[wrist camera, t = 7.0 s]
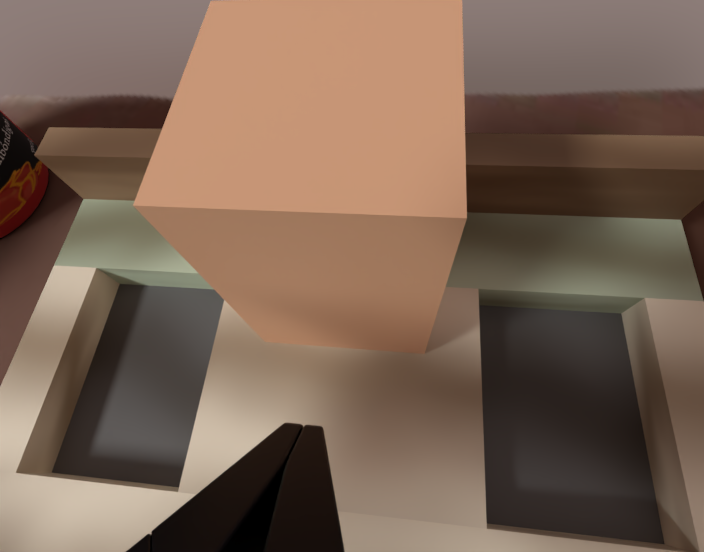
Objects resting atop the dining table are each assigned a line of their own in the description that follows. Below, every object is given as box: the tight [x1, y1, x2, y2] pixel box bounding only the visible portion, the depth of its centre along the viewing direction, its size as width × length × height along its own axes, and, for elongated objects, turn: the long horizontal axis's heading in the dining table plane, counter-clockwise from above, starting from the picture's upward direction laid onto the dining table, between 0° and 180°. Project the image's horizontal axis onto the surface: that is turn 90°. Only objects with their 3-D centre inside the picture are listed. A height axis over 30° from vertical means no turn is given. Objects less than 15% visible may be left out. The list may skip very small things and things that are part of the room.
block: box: [133, 0, 467, 354], centre depth 13 cm, size 6×6×9 cm
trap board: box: [0, 127, 704, 552], centre depth 14 cm, size 20×26×5 cm
